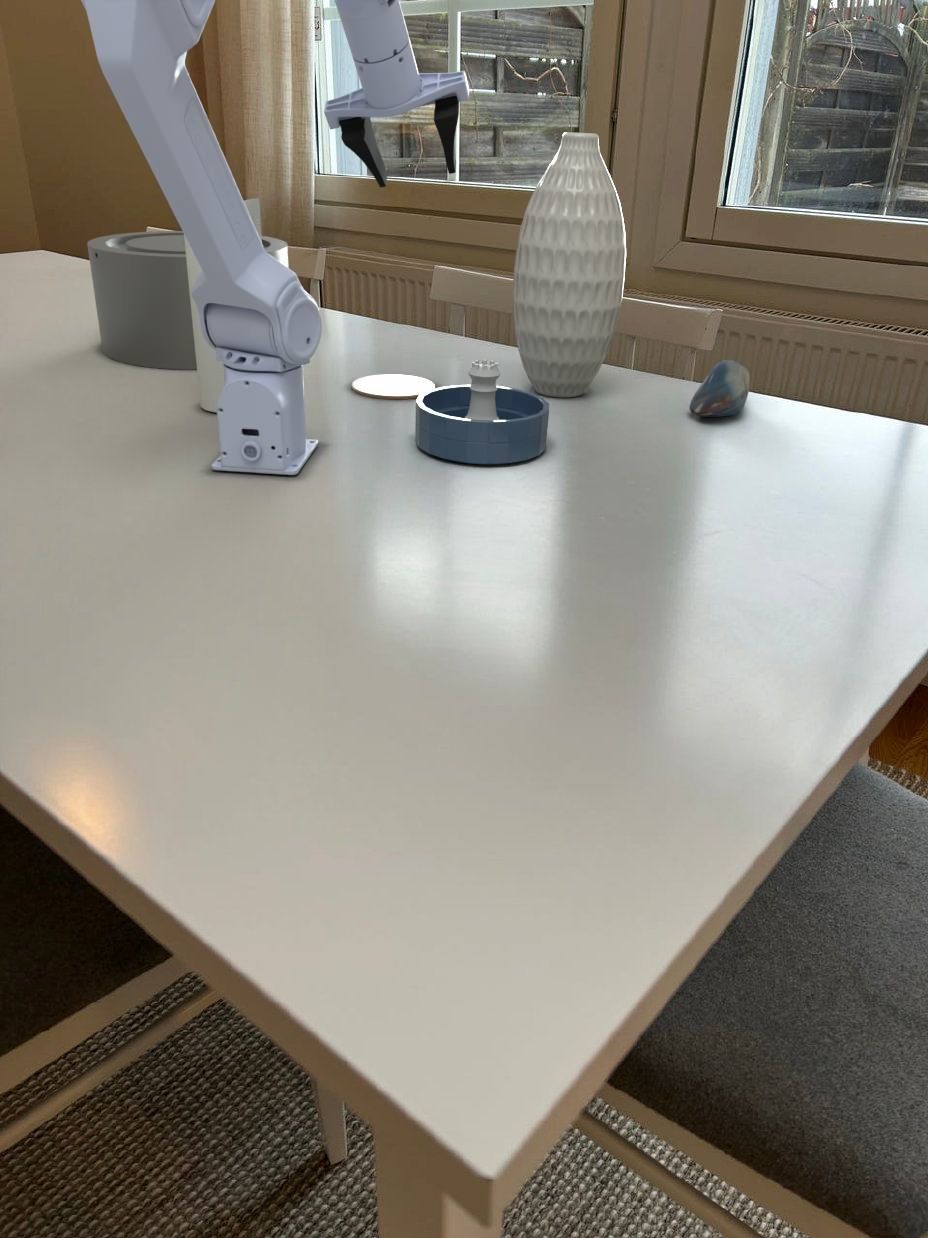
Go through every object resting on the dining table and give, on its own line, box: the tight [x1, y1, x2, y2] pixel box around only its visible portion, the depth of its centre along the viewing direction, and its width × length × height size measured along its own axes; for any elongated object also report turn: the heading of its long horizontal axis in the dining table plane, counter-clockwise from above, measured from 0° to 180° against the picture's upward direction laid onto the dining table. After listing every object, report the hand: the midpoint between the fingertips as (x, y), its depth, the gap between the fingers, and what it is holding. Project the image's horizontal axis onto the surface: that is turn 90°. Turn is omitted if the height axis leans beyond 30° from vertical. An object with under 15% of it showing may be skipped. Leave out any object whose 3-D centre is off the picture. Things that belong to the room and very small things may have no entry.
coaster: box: [351, 373, 436, 400], centre depth 115 cm, size 10×10×1 cm
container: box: [86, 230, 290, 370], centre depth 126 cm, size 25×25×13 cm
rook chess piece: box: [465, 359, 502, 421], centre depth 94 cm, size 4×4×8 cm
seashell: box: [688, 359, 751, 418], centre depth 109 cm, size 6×9×10 cm
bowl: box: [414, 384, 550, 466], centre depth 96 cm, size 13×13×4 cm
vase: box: [512, 131, 627, 399], centre depth 110 cm, size 13×13×28 cm
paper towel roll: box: [184, 197, 263, 413], centre depth 100 cm, size 7×6×21 cm
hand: (417, 174), depth 102 cm, fingers open, 7 cm apart
